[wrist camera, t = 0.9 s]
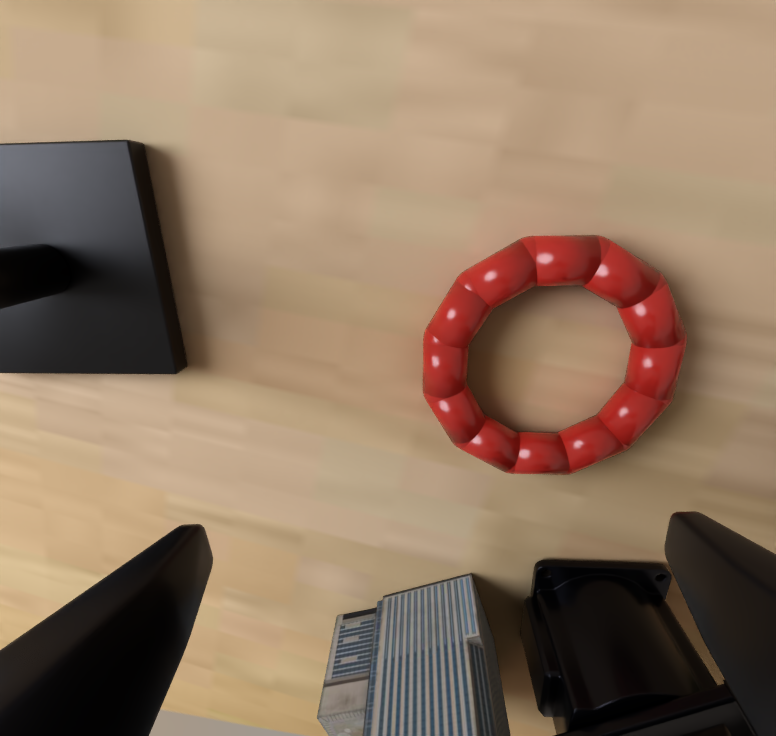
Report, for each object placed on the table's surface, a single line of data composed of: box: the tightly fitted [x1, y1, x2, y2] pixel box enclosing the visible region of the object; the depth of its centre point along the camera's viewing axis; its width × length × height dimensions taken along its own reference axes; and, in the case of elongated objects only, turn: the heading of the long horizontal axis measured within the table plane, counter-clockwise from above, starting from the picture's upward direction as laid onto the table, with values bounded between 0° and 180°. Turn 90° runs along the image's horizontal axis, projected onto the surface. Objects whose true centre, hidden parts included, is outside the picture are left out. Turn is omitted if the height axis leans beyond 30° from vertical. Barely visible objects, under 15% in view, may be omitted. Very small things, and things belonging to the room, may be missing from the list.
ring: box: [423, 235, 687, 475], centre depth 18 cm, size 10×10×2 cm
